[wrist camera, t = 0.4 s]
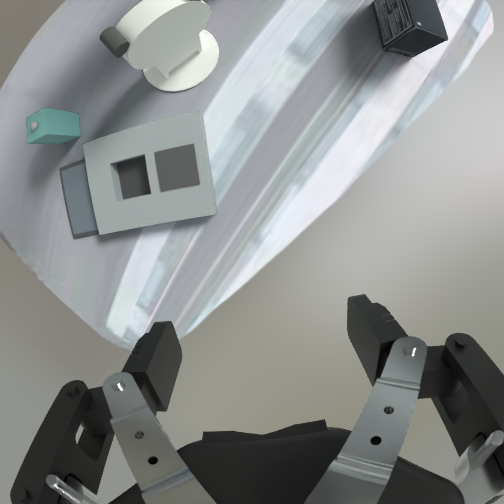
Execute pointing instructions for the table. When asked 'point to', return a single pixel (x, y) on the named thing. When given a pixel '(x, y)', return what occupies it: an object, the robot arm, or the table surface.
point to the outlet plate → (151, 174)
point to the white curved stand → (166, 42)
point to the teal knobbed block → (52, 126)
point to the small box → (409, 25)
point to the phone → (78, 199)
